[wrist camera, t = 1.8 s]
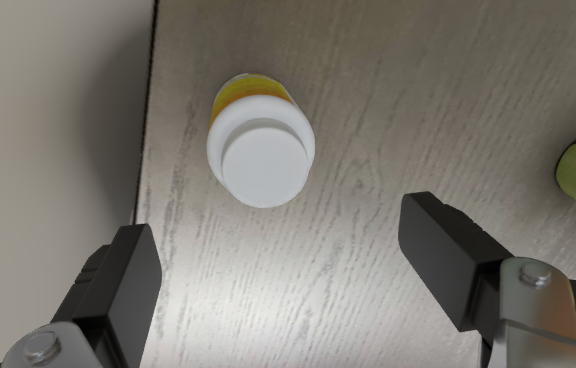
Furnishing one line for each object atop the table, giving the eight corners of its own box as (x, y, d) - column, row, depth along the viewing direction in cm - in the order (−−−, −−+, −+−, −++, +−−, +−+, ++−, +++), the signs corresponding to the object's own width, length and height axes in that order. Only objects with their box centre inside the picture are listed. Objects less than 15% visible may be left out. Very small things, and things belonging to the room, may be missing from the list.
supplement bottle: (195, 105, 24) (173, 163, 15) (259, 53, 23) (277, 79, 14) (248, 163, 26) (257, 243, 17) (307, 117, 25) (349, 176, 16)
